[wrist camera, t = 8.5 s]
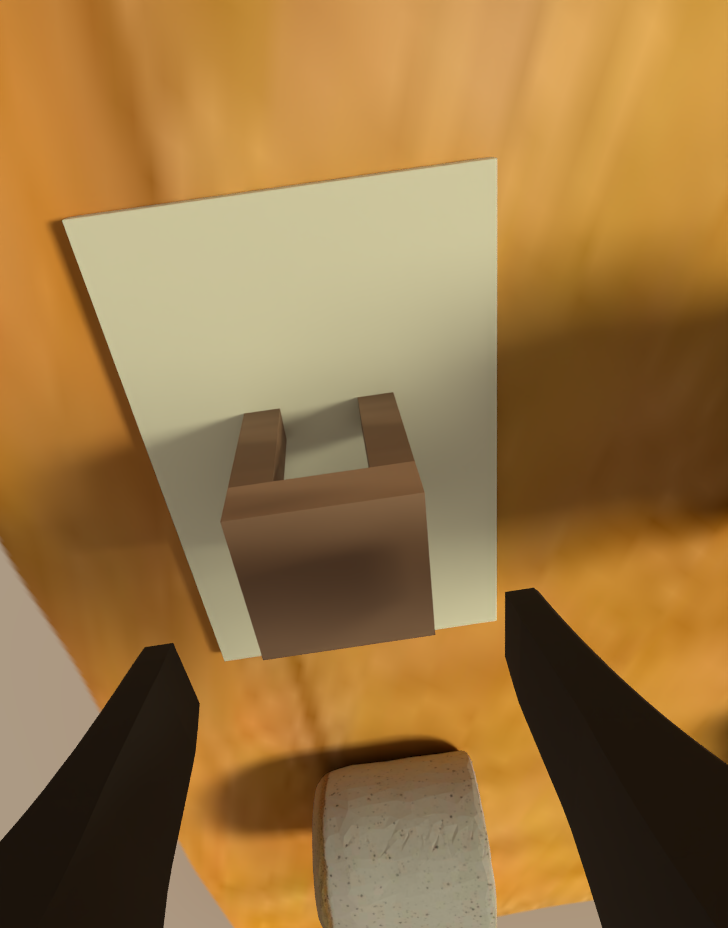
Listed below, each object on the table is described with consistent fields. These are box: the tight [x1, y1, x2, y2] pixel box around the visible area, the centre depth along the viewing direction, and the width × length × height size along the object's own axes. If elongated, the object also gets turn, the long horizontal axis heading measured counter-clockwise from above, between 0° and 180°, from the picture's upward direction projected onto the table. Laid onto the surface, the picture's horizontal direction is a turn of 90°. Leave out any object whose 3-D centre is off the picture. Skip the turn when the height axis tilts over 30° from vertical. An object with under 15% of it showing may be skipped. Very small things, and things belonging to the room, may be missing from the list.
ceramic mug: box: [312, 751, 497, 928], centre depth 29 cm, size 11×8×8 cm
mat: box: [62, 157, 497, 661], centre depth 21 cm, size 18×12×1 cm, turn 7°
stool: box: [220, 392, 435, 660], centre depth 18 cm, size 5×5×6 cm
